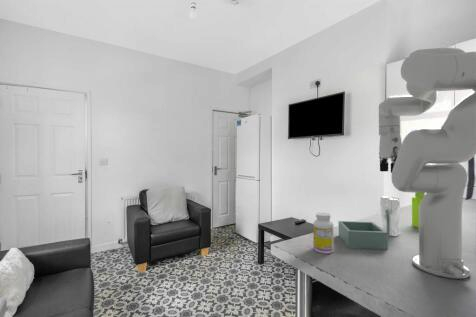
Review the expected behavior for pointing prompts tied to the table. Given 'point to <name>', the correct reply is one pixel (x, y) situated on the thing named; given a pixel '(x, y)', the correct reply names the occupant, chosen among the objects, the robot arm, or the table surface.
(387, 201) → the beer glass
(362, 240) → the box
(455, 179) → the robot arm
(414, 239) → the table surface
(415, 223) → the soap dispenser
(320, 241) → the supplement bottle
